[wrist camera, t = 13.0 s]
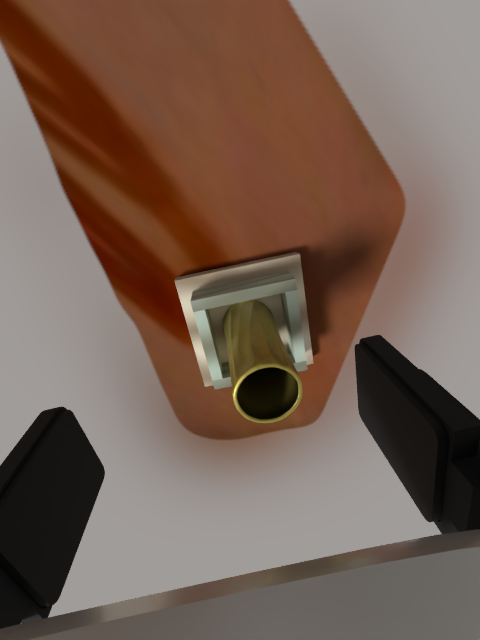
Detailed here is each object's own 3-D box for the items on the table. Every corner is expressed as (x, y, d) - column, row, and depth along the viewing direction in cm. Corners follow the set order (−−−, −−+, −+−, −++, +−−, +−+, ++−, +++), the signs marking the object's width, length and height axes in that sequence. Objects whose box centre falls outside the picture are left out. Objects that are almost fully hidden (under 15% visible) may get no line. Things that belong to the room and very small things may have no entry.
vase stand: (176, 277, 34) (170, 289, 30) (296, 251, 34) (309, 259, 30) (205, 380, 40) (204, 403, 35) (309, 357, 40) (322, 378, 35)
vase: (283, 311, 35) (324, 377, 22) (258, 354, 37) (283, 438, 24) (236, 289, 34) (250, 345, 21) (213, 335, 36) (212, 413, 22)
